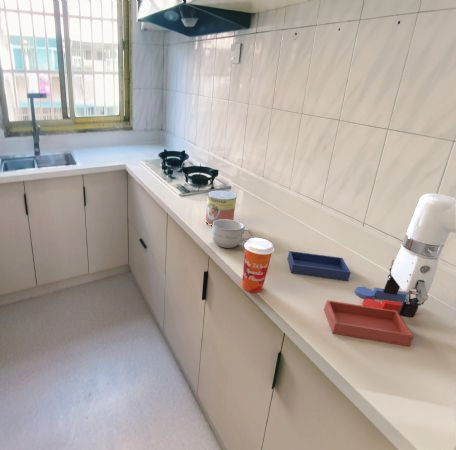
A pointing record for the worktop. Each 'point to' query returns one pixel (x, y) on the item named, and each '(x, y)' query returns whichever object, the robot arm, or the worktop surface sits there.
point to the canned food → (220, 205)
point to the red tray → (367, 323)
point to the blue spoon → (379, 294)
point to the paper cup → (256, 263)
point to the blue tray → (318, 265)
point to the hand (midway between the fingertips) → (397, 304)
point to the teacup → (229, 233)
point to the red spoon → (383, 304)
